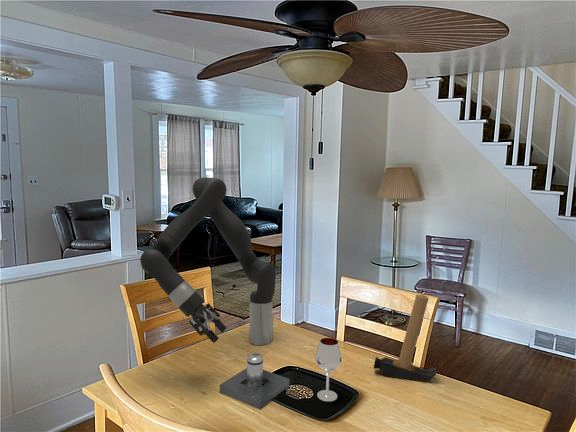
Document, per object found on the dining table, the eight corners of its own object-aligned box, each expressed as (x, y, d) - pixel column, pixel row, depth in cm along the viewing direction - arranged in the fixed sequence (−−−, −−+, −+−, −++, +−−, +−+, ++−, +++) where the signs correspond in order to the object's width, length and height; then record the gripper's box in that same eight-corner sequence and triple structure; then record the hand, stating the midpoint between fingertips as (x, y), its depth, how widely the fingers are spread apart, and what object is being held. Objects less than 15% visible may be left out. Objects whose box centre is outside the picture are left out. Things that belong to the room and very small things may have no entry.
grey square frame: (250, 372, 145) (250, 365, 145) (289, 386, 136) (289, 378, 136) (219, 392, 132) (219, 384, 131) (259, 409, 123) (260, 401, 123)
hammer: (430, 382, 146) (453, 302, 141) (432, 389, 141) (455, 307, 136) (373, 364, 150) (393, 286, 145) (373, 371, 145) (394, 290, 140)
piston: (253, 383, 138) (253, 351, 136) (265, 388, 135) (266, 356, 133) (243, 390, 133) (243, 357, 132) (255, 395, 130) (256, 362, 129)
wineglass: (323, 405, 126) (325, 349, 124) (309, 392, 133) (311, 338, 131) (345, 399, 129) (347, 344, 127) (330, 386, 137) (332, 334, 135)
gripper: (186, 297, 126) (222, 337, 126) (202, 285, 140) (234, 320, 140) (169, 313, 128) (205, 352, 127) (187, 299, 142) (219, 334, 141)
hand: (220, 335), depth 134 cm, fingers open, 8 cm apart
